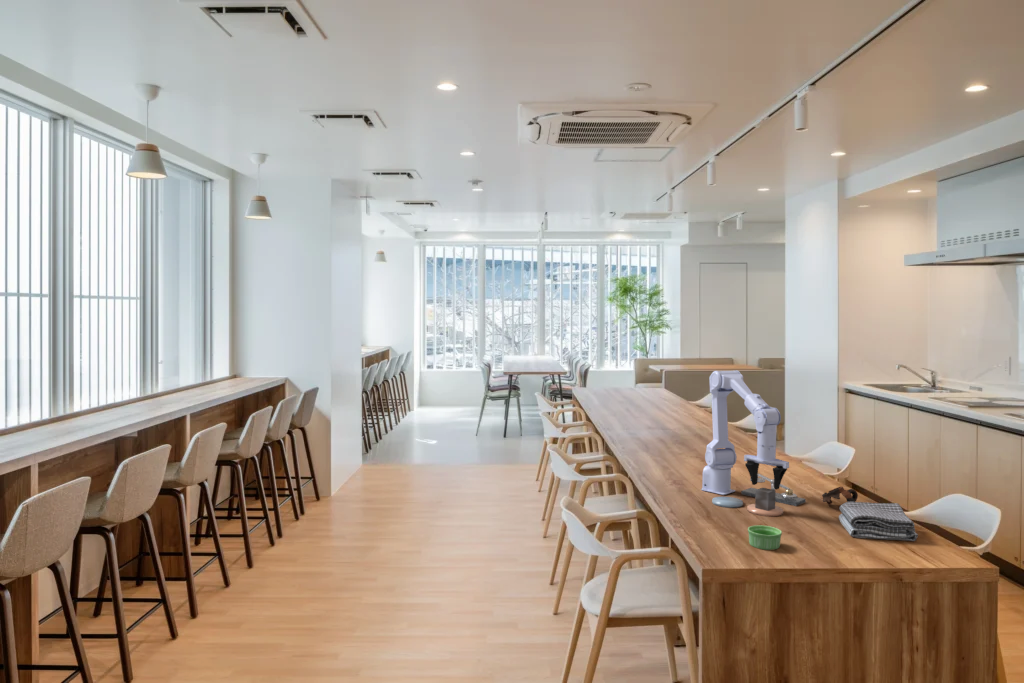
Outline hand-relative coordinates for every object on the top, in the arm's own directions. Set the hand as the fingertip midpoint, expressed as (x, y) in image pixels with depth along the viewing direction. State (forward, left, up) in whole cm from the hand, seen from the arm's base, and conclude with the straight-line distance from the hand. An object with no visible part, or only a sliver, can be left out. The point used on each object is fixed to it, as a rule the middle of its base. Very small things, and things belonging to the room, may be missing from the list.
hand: (765, 486), depth 228 cm
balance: (-6, +17, -8) cm, 20 cm away
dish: (0, 0, -8) cm, 8 cm away
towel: (+33, +5, -9) cm, 34 cm away
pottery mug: (+15, +23, -9) cm, 29 cm away
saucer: (-13, -1, -8) cm, 15 cm away
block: (0, 0, -7) cm, 7 cm away
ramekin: (+16, -31, -9) cm, 36 cm away
